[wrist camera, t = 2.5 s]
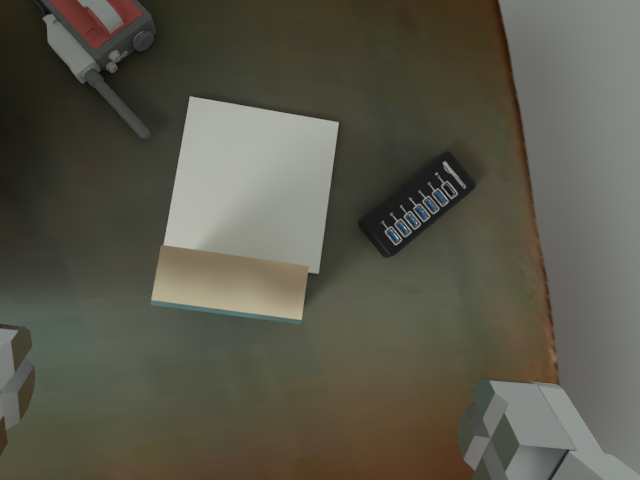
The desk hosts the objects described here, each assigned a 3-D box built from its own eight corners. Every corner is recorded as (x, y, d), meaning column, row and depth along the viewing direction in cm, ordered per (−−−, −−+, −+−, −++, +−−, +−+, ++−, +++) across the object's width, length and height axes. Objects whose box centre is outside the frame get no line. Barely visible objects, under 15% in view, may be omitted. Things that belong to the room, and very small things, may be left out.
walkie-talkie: (-5, -10, 47) (142, 149, 47) (-31, -42, 43) (130, 134, 43) (73, -64, 49) (215, 91, 49) (55, -100, 45) (210, 70, 44)
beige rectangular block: (289, 319, 47) (300, 324, 35) (177, 304, 46) (150, 304, 34) (295, 275, 47) (308, 266, 35) (185, 260, 46) (161, 244, 34)
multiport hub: (355, 223, 49) (360, 219, 47) (440, 156, 51) (448, 149, 48) (384, 259, 49) (391, 257, 47) (468, 190, 51) (478, 185, 48)
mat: (317, 273, 47) (318, 273, 47) (163, 251, 46) (162, 251, 45) (337, 124, 49) (338, 122, 49) (190, 98, 48) (189, 96, 47)
